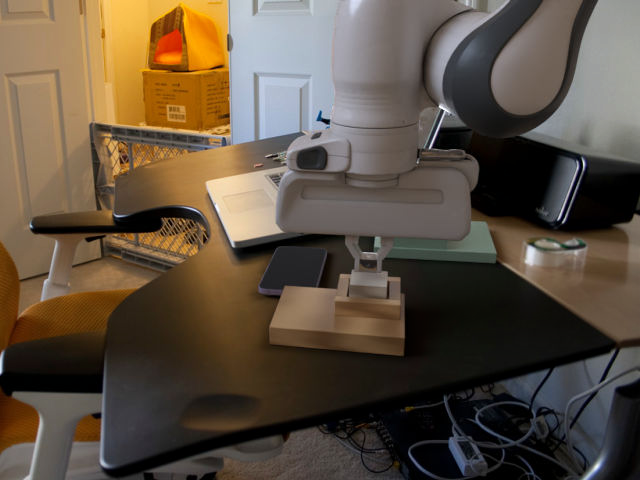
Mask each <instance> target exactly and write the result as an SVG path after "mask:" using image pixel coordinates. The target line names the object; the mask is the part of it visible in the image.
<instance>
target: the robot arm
mask: <svg viewBox="0 0 640 480" xmlns="http://www.w3.org/2000/svg"><path fill="white" fill-rule="evenodd" d="M598 2H599V0H505V1H504V2H503V3H502V4H501V5H500V6H499V7H497V8H496V9H495V10H494V11H492V12H490V11H485V10H479V9H476V8H473V7H472V6H469V5H466V4H463V3H462V2H459V1H456V0H339V2H338V4H337V7H336V12H335V17H334V21H333V22H334V23H333V30H332V31H333V32H332V33H333V34H332V42H331V58H330V59H331V62H330V63H331V66H330V69H331V70H330V76H331V77H330V78H331V82H332V86H333V90H334V99H333V106H332V109H331V111H330V112H331V113H330V122H329V124H330V127H328V128H325V129H321V130H318V131H314V132H311V133H308V134H303V135H301V136H298V137H297V138H295V139H294V140H293V141H292V142H291V143H290V145H289V146H288V148H287V150H286V154H285V163H286V164H285V165H286V167H287V168H286V169H285V171H284V173H283V175H282V176H281V178H280V180H279V183H278V187H277V192H276V199H275V214H274V221H275V224H276V226H277V227H278V229H279V230H280V231H281V232H282V233H291V234H292V233H293V234H295V233H296V234H314V235H315V234H316V235H335V236H344V240H345V241H344V244H345V246H346V248H347V250H348V252H349V253H350V254H351V256H352V258H353V259H354V270H355V272H368V273H381V272H382V271H383V261H384V260H385V258H387V257H386V256H387V254H388V253H389V252H390V250H391V249H392V248H393V243H394V238H412V239H432V240H452V241H461V240H463V239H464V238H465V237H466V236H467V235H468V234H469V233H470V230H471V221H472V203H471V193H472V192H473V191H474V190H475V188H476V187H477V185H478V183H479V174H480V165H479V162H478V160H477V159H476V158H475V157H474V156H473V155H471V154H468V153H466V151H465V150H463V149H458V148H457V149H447V150H446V149H437V148H420V147H419V142H420V141H419V138H420V128H421V127H420V125H421V115H422V112H424V110H426V109H428V108H440V109H442V110H443V111H445V112H447V113H449V114H451V115H452V116H454V117H456V118H457V120H459V121H460V122H462V123H463V124H464V125H465V126H466V127H467V128H468V129H470V130H471V131H473V132H474V133H475V134H478V135H481V136H483V137H487V138H493V139H508V138H514V137H518V136H520V135H521V136H522V135H524V134H527V133H529V132H531V131H533V130H534V129H536V128H538V127H540V126H541V125H542V124H544V123H545V122H546V121H548V120H549V119H550V118H551V117H552V116H553V115H554V114H555V113H556V112H557V111H558V110H559V108H560V107H561V106H562V104H563V102H564V101H565V100H566V97H567V95H568V94H569V91H570V90H571V87H572V83H573V82H574V78H575V74H576V69H577V66H578V61H579V55H580V50H581V45H582V41H583V38H584V35H585V32H586V29H587V26H588V24H589V22H590V20H591V17H592V15H593V12H594V10H595V8H596V6H597V4H598ZM360 237H372V238H375V237H380V245H381V247H380V249H379V250H378V251H377V253H374V252H363V251H362V250H361V248H360V246H359V239H360Z"/></svg>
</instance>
